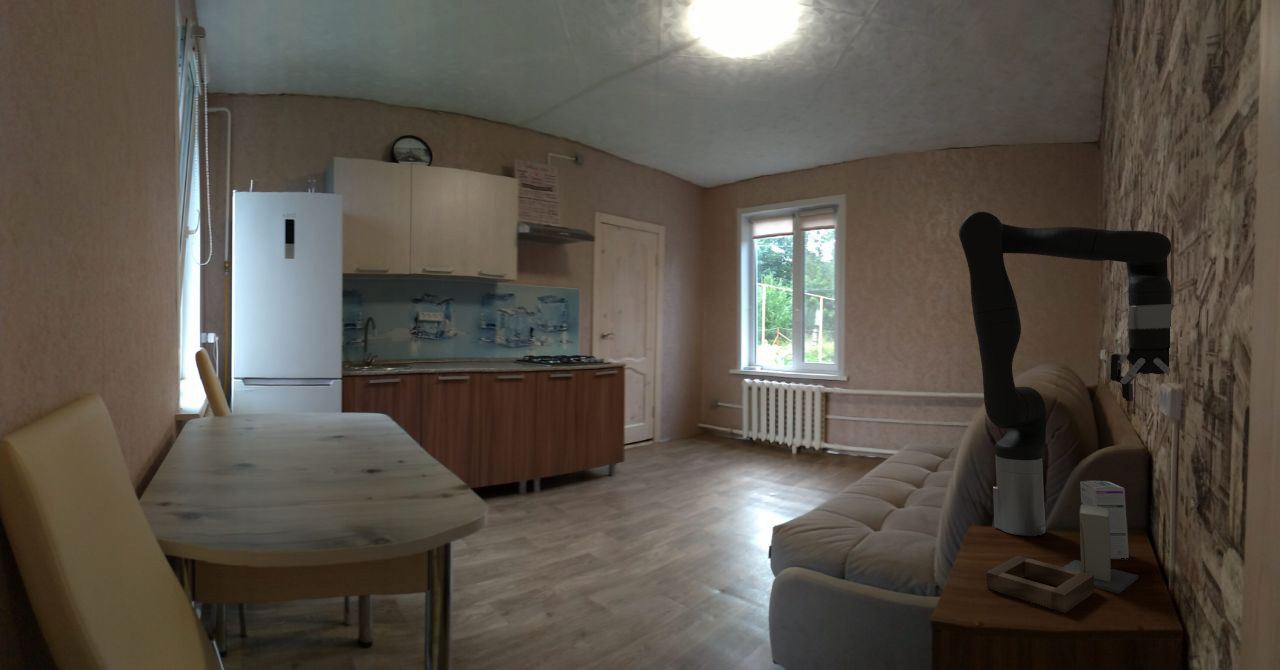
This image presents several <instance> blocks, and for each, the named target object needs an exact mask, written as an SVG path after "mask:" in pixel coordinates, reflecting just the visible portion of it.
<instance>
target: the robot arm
mask: <svg viewBox="0 0 1280 670" xmlns="http://www.w3.org/2000/svg"><path fill="white" fill-rule="evenodd" d="M958 238H959V241H960V243H961V246H962V249H963V252H964V256H965V259H966V263H967V267H968V273H969V281H970V282H969V283H970V284H969V285H970V297H971V298H970V299H971V307H972V316H973V321H974V327H975V328H974V329H975V332H976V336H977V341H978V350H979V355H980V361H981V371H982V384H983V386H982V387H983V388H982V389H983V401H984V408H985V413H986V416H987V417H988V420H989V421H990V422H991V423H992V424H993V425H994V426H996V427H997V428H1000V429H1007V430H1006V433H1005V434H1004V435H1003V437H1002V438H1000V439H999V440H998V441H997V442H996V443H995V446H994V453H995V458H994V459H995V474H996V476H995V477H996V486H993V488H992V497H993V498H992V499H993V521H994V522H993V523H994V528H995V529H998V530H1001V531H1002V532H1005V533H1008V534H1011V535H1015V536H1016V535H1017V536H1024V537H1038V536H1037V535H1040V536H1043V535H1042V534H1044V533H1045V534H1046V512H1045V491H1044V490H1045V488H1044V469H1043V468H1044V467H1043V450H1044V448H1045V445H1046V440H1047V410H1046V409H1047V407H1046V403H1045V401H1044V400H1045V399H1044V398H1043V396H1042V395H1041V393H1040V392H1039V391H1037V389H1035V388H1033V387H1030V386H1016V385H1015V380H1014V373H1013V363H1014V358H1015V354H1016V351H1017V348H1018V344H1019V342H1020V338H1021V335H1022V325H1021V319H1020V312H1019V308H1018V307H1019V306H1018V303H1017V299H1016V296H1015V293H1014V289H1013V286H1012V284H1011V281H1010V278H1009V276H1008V272H1007V270H1006V265H1005V260H1004V254H1024V255H1037V256H1047V257H1053V258H1054V257H1056V258H1063V259H1073V260H1083V261H1093V262H1094V261H1095V262H1103V261H1111V262H1120V263H1126V272H1127V278H1128V286H1127V287H1128V289H1127V292H1128V293H1127V295H1128V314H1127V323H1126V324H1127V329H1128V330H1127V331H1128V353H1127V354H1121V353H1113V354H1111V355H1110V377H1109V378H1110V381H1112V382H1113V381H1114V382H1118V383H1120V384H1121V397H1122V398H1123V399H1124V400H1125V401H1126V402H1133V401H1134V389H1133V383H1131V382H1132V381H1133V380H1134V379H1135V378H1136V377H1137V376H1138V375H1140V374H1142V375H1149V374H1152V375H1153V374H1154V375H1163V374H1165V375H1166V376H1168V377H1169V372H1170V368H1169V348H1170V327H1171V293H1172V283H1171V281H1170V279H1169V277H1168V257H1169V255H1170V254H1171V252H1172V243H1171V241H1170V239H1169V238H1168V237H1167V236H1166V235H1164V234H1163V233H1160V232H1157V231H1156V232H1155V231H1149V230H1109V229H1104V228H1091V227H1080V226H1079V227H1078V226H1056V227H1022V226H1014V225H1009V224H1006V223H1002V222H1001V220H1000V219H999V218H998V217H997V216H996V215H995V214H993V213H990V212H987V211H976V212H973V213H971V214H969V215H968V216H966V217H965V219H963V221H962V222H961V224H960V227H959V231H958ZM1126 360H1127V361H1128V362H1129V363H1130V365H1131V368H1130V369H1129V370H1128V371H1127V372H1126V374H1125V375H1124V376H1123V375H1122V364H1125V362H1126ZM1045 534H1044V535H1045Z"/></svg>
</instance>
